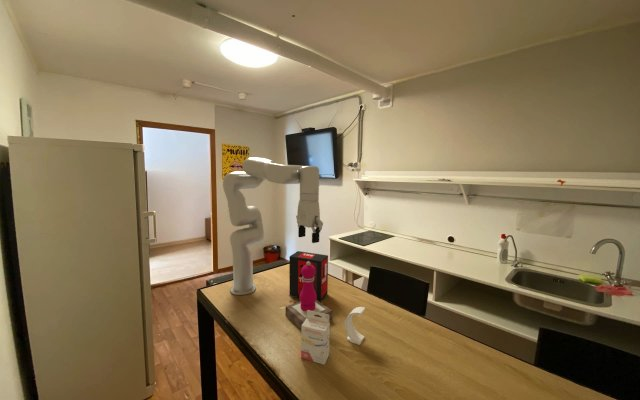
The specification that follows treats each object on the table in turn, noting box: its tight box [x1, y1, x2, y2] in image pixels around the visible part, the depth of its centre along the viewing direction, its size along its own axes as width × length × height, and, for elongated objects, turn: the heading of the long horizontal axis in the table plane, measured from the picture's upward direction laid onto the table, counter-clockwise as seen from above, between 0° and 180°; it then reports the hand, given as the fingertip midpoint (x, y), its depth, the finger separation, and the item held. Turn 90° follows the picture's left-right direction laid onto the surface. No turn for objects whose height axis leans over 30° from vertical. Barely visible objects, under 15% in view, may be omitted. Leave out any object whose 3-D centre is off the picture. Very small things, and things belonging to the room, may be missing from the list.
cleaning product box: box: [288, 250, 329, 303], centre depth 126 cm, size 16×9×20 cm, turn 68°
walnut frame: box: [285, 300, 333, 330], centre depth 107 cm, size 14×14×4 cm
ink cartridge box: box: [300, 310, 331, 366], centre depth 84 cm, size 9×5×15 cm, turn 71°
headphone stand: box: [344, 306, 366, 346], centre depth 94 cm, size 5×6×12 cm
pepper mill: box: [298, 261, 317, 311], centre depth 106 cm, size 7×7×20 cm
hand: (308, 239), depth 104 cm, fingers open, 9 cm apart
